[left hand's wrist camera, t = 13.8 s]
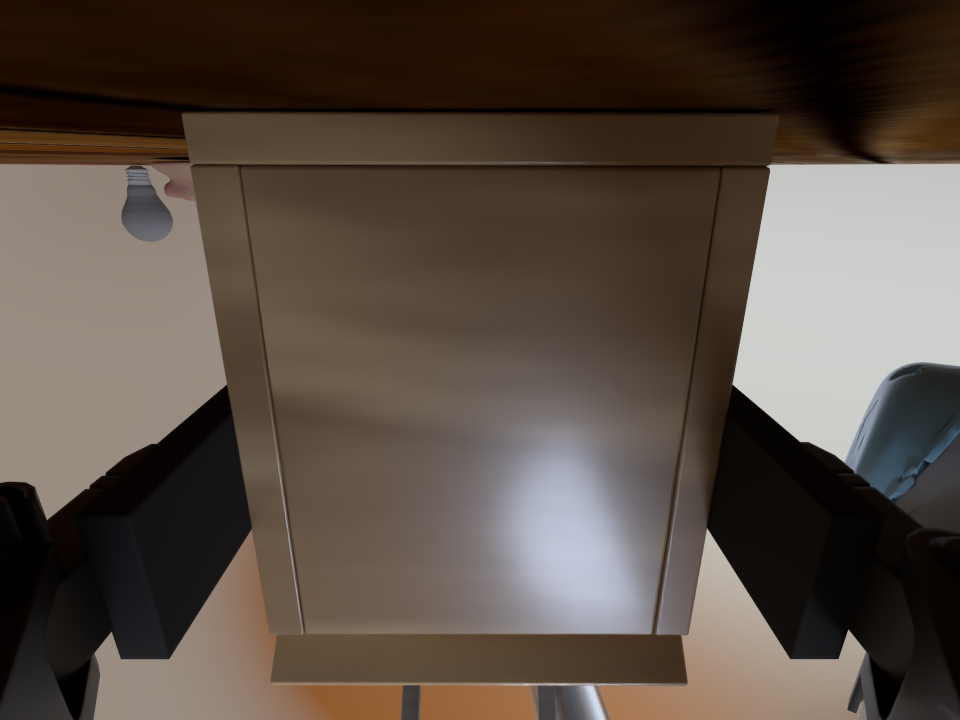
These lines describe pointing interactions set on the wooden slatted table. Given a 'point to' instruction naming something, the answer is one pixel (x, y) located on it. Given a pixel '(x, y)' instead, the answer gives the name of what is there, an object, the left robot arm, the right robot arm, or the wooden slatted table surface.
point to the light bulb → (144, 208)
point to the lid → (479, 662)
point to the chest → (479, 357)
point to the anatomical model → (177, 178)
